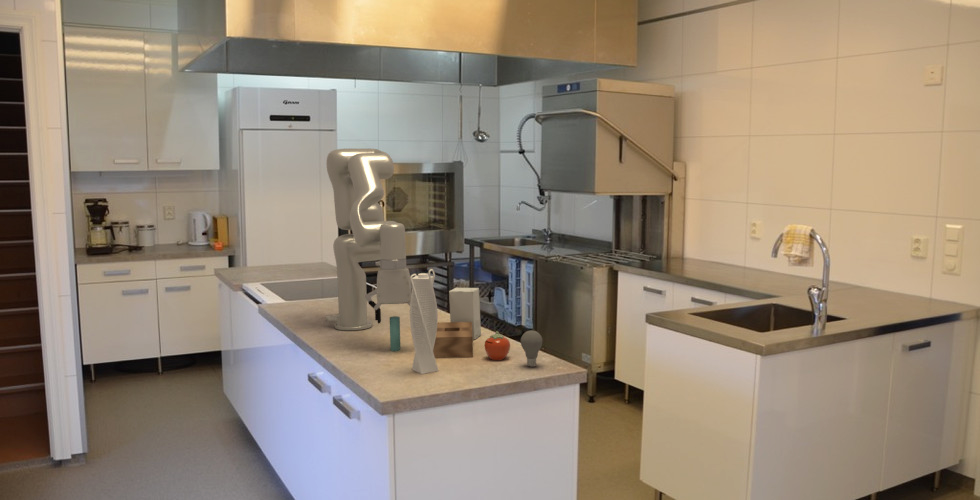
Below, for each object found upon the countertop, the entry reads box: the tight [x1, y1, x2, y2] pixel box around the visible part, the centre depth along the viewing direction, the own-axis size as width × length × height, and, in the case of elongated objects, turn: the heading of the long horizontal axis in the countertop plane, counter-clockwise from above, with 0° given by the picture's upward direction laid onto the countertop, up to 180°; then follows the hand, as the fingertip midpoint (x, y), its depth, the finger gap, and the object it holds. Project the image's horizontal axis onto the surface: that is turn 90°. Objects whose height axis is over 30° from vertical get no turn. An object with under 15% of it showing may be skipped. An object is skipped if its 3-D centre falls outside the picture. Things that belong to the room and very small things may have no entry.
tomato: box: [483, 330, 511, 361], centre depth 225 cm, size 7×7×8 cm
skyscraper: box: [409, 268, 439, 375], centre depth 212 cm, size 8×8×28 cm
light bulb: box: [520, 329, 543, 368], centre depth 216 cm, size 6×6×10 cm
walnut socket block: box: [433, 321, 474, 359], centre depth 237 cm, size 12×20×6 cm, turn 2°
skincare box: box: [448, 287, 482, 340], centre depth 251 cm, size 8×7×16 cm
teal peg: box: [389, 315, 401, 352], centre depth 236 cm, size 3×3×10 cm
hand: (395, 322), depth 235 cm, fingers open, 9 cm apart
